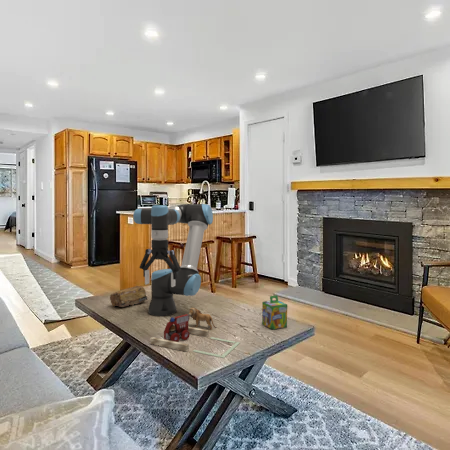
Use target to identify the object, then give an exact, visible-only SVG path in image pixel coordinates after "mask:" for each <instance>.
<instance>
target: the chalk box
mask: <svg viewBox="0 0 450 450" xmlns="http://www.w3.org/2000/svg"><path fill="white" fill-rule="evenodd" d="M269 299H270V300H264V301H262V308H261V309H262V311H261V312H262V314H261V317H262V319H261V320H262V321H261V324H262V325H263V326H265V327H267V328H268V329H270V330H278V329H283V328H287V327H288V304H287V303H284V302H283V301H280V300H279V297H278V295H277V294H275V295H270V296H269ZM273 299H274V300H273Z"/></svg>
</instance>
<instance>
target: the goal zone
mask: <svg viewBox="0 0 450 450" xmlns="http://www.w3.org/2000/svg"><path fill="white" fill-rule="evenodd" d="M209 339H211V340H215V341H221V342H225V343H226V342H227V343H230V344H231V343H232V346H231V347H229V348H228V349H227V350H226V351H225V352H223V354H217V353H212V352H207V351H203V350H197V349H193V350H192V352H193V353H197V354H203V355H207V356H212V357H217V358H220V359H221V358H222V359H224V358H226V357H227V356H228V355H229V354H230V353H231V352H232V351H233V350H235V348H237V347H238V346H239V345H240V344H241V342H240V341H235V340H228V339H224V338H218V337H213V336H210V337H209Z"/></svg>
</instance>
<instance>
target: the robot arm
mask: <svg viewBox="0 0 450 450" xmlns="http://www.w3.org/2000/svg"><path fill="white" fill-rule="evenodd" d="M213 214H214V213H213V210H212V207H211V206H210V204H207V203H206V204H205V203H201V204H199V203H197V204H196V203H195V204H193V203H190V204H189V203H185V204H177V205H171V206H169V207H168V206H167V205H162V204H161V205H159V204H158V205H157V204H155V205H154V204H153V205H152V206H151V208H136V209H135V210H134V211H133V214H132V217H133V222H134V223H135V224H137V225H151V230H150V231H151V237H150V238H151V241H150V242H151V245H150V246H151V248H146V249H145V251H144V255H143V258H142V260H141V262H140V265H139V267H138V268H139V269H141V270H143V271H142V272H143V278H144V285H146V286H147V285H149V284H151V285H150V289H151V290H150V291H151V299H150V302H149V306H148V310H147V311H148V314H149V315H151V316H156V317H163V316H164V317H165V316H170V315H174V314H176V312H177V305H176V302H175V299H174V295H177V296H186V297H189V296H190V297H191V296H195V295H197V294H198V292H199V291H200V288H201V283H202V281H201V280H202V277H201V275H200V274H199V270H198V265H199V258H200V254H201V248H202V244H203V239H204V234H205V231H206V230H207V229H208V226H209V225H210V226H211V224H213V221H214V215H213ZM176 224H185V225H186V224H187V226H188V233H187V238H186V242H185V247H184V252H183V256H182V259H181V265H180V263H179V260H178V259H177V256H176V254H175V250H174V249H172V250H169V240H168V238H169V226H170V225H171V226H173V225H176ZM151 254H152V255H151ZM150 255H151V257H150ZM149 258H150V259H149ZM155 260H160V261H162V260H163V261H164V262H165V263H166V265H167V266H168V268H163V269H158V270H154V271H153V272H152V273H151V275H150V269H149V268H150V267H151V265H152V264H153V263H154V261H155ZM150 276H151V278H150ZM150 281H151V283H150Z"/></svg>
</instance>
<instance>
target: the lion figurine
mask: <svg viewBox="0 0 450 450" xmlns="http://www.w3.org/2000/svg"><path fill="white" fill-rule="evenodd" d="M188 315H189V318H191V319H192V320H194V321H195V326H194V328H198V327H199V325H200V324H201V322H206V324H207V327H208V328H209V329H208V330H209V331H212V330H213V328H214V329H217V328H218V327H217V326H215V324H214V320H213V317H212V316H211V314H209V313H208V314H207V313H203V312H201V311H200V310H199V309H197V308H196V307H190V308H189V311H188Z"/></svg>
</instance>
